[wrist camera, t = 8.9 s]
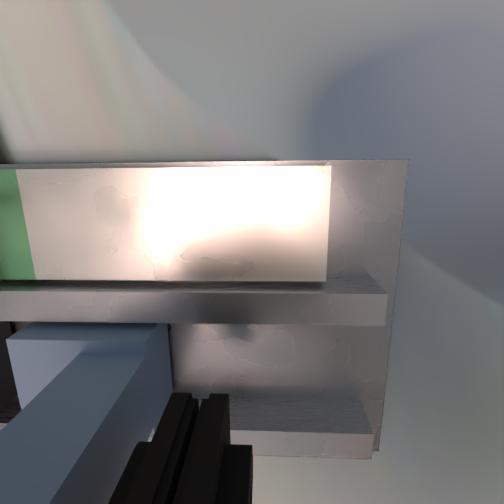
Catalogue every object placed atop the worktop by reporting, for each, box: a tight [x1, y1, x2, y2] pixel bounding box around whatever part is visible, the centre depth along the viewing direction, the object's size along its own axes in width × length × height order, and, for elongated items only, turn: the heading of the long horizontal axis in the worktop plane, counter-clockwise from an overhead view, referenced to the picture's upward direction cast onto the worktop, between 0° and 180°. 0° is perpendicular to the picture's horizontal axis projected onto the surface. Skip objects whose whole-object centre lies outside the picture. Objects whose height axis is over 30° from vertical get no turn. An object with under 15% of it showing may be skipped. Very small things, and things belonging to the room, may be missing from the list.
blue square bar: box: [0, 321, 173, 504], centre depth 11 cm, size 5×4×8 cm
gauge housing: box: [0, 159, 409, 459], centre depth 13 cm, size 25×13×6 cm, turn 91°
